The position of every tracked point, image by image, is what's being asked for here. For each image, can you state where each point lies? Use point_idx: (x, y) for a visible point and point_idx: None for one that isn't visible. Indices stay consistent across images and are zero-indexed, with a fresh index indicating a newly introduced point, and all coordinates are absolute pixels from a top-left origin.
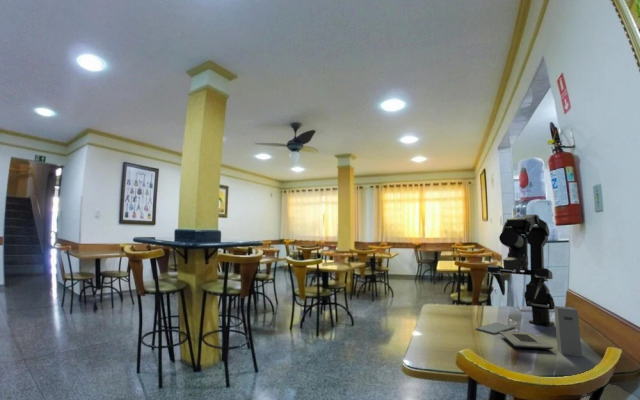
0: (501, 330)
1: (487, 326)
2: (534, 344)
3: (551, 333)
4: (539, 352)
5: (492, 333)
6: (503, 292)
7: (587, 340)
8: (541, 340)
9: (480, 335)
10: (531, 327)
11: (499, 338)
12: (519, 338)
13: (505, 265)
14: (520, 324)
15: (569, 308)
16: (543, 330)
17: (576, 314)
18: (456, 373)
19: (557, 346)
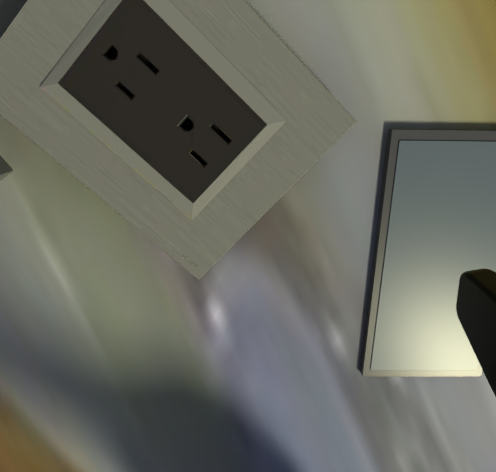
0: (387, 238)
1: (489, 243)
2: (56, 25)
3: (188, 429)
4: None
5: (404, 130)
6: (488, 302)
7: (32, 451)
8: (84, 165)
9: (450, 18)
10: (304, 451)
11: (328, 73)
12: (173, 52)
13: None
14: (369, 459)
15: None
16: (239, 448)
17: None
18: None
19: (2, 173)
